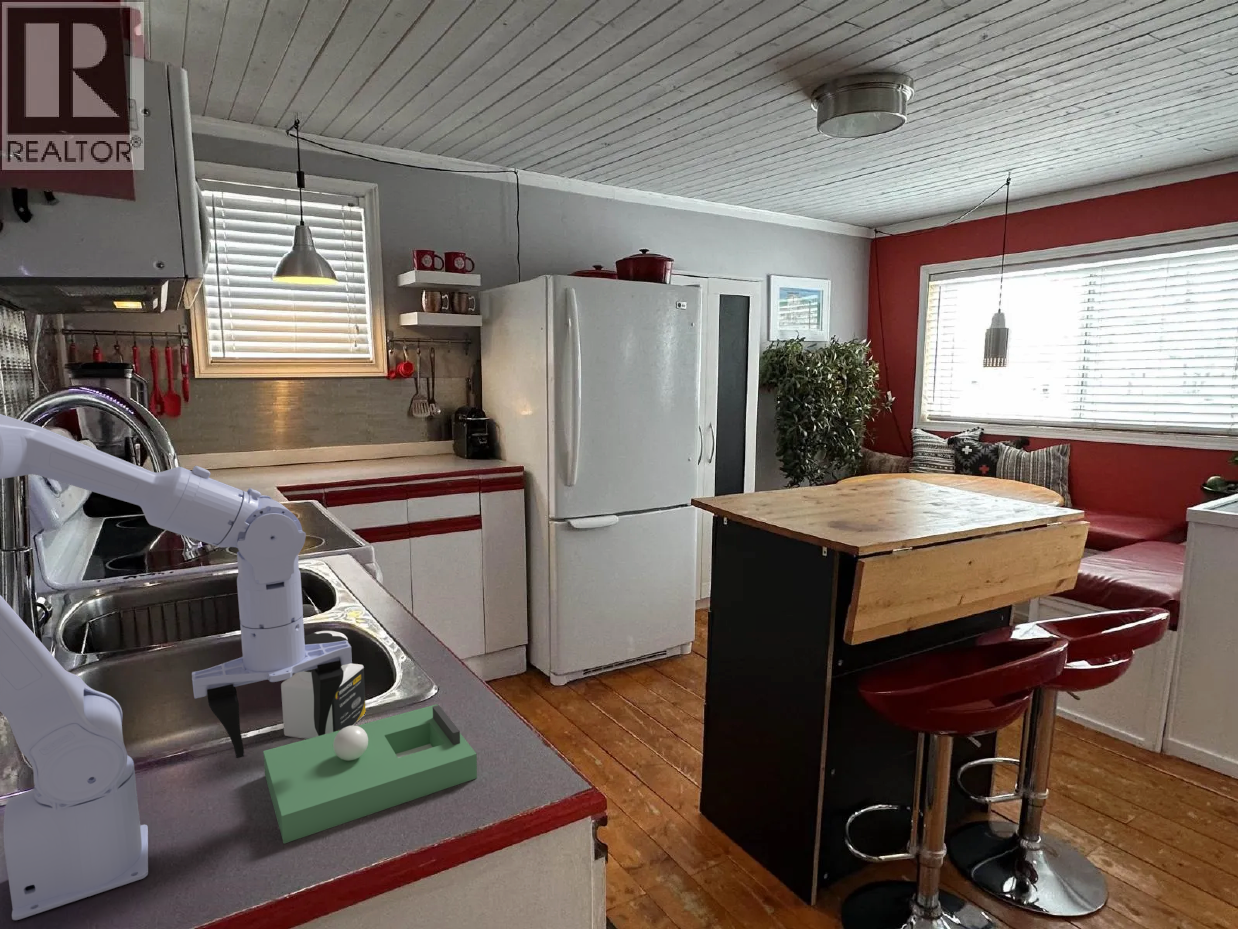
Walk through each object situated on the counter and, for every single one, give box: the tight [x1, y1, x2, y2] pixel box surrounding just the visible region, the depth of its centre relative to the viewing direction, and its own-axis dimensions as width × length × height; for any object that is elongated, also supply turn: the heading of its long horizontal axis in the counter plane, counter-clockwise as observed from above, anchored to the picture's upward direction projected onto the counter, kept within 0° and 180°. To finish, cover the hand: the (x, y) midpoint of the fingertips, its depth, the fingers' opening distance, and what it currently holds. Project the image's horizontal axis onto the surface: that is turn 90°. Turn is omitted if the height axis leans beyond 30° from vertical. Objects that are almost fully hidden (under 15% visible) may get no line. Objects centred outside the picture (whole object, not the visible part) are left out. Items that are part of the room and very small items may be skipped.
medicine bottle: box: [280, 630, 367, 740], centre depth 89 cm, size 7×7×12 cm
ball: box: [333, 725, 368, 761], centre depth 77 cm, size 4×4×4 cm
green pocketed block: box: [262, 704, 478, 844], centre depth 79 cm, size 20×13×4 cm, turn 124°
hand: (280, 741), depth 73 cm, fingers open, 7 cm apart
